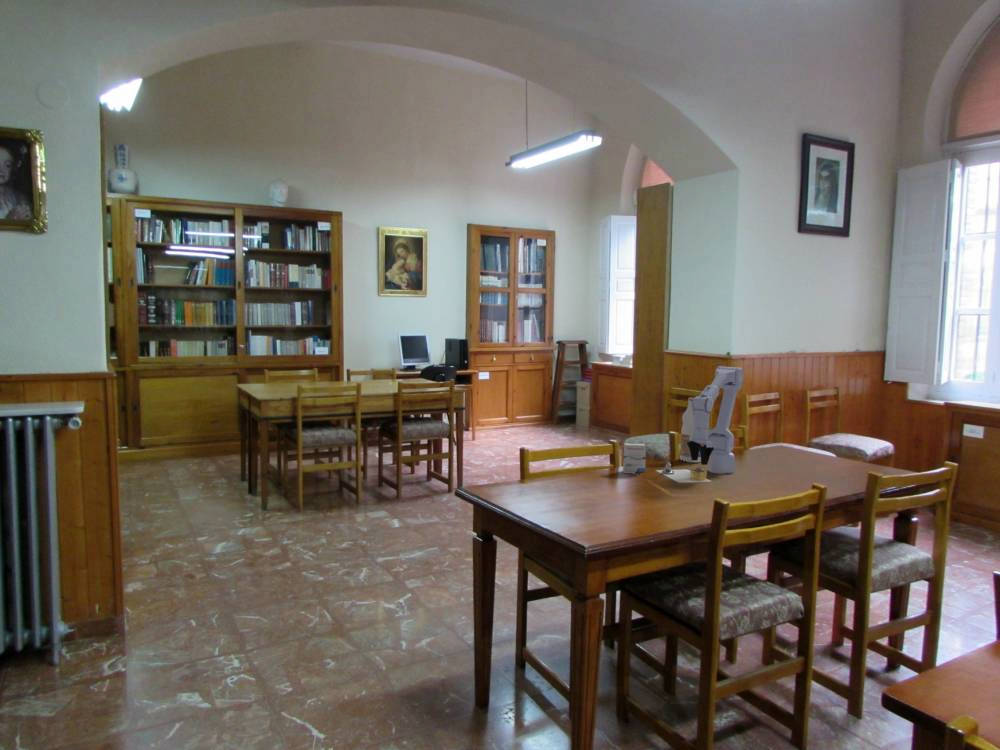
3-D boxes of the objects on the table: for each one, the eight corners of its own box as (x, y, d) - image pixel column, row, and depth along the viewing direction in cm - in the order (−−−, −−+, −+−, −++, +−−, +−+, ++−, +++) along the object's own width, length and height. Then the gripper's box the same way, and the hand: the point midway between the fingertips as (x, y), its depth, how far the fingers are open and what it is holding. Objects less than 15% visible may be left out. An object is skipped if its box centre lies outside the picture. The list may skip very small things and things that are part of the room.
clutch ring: (701, 476, 261) (702, 468, 261) (708, 479, 256) (709, 472, 255) (688, 476, 260) (688, 469, 260) (695, 480, 255) (695, 472, 254)
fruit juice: (677, 458, 300) (680, 396, 297) (698, 458, 300) (701, 397, 297) (682, 462, 291) (685, 399, 288) (704, 463, 290) (707, 399, 288)
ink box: (643, 471, 272) (644, 443, 271) (645, 474, 267) (646, 445, 266) (622, 471, 272) (623, 442, 271) (623, 473, 267) (624, 444, 266)
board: (687, 471, 273) (687, 459, 273) (712, 483, 254) (712, 471, 253) (655, 472, 270) (656, 460, 270) (678, 485, 251) (678, 472, 250)
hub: (670, 471, 269) (671, 460, 268) (676, 474, 264) (676, 463, 264) (659, 471, 268) (660, 460, 267) (665, 474, 263) (665, 463, 263)
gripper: (682, 424, 262) (681, 458, 263) (700, 430, 248) (699, 466, 249) (699, 424, 264) (697, 458, 265) (718, 430, 250) (716, 466, 251)
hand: (699, 462), depth 257 cm, fingers open, 7 cm apart
